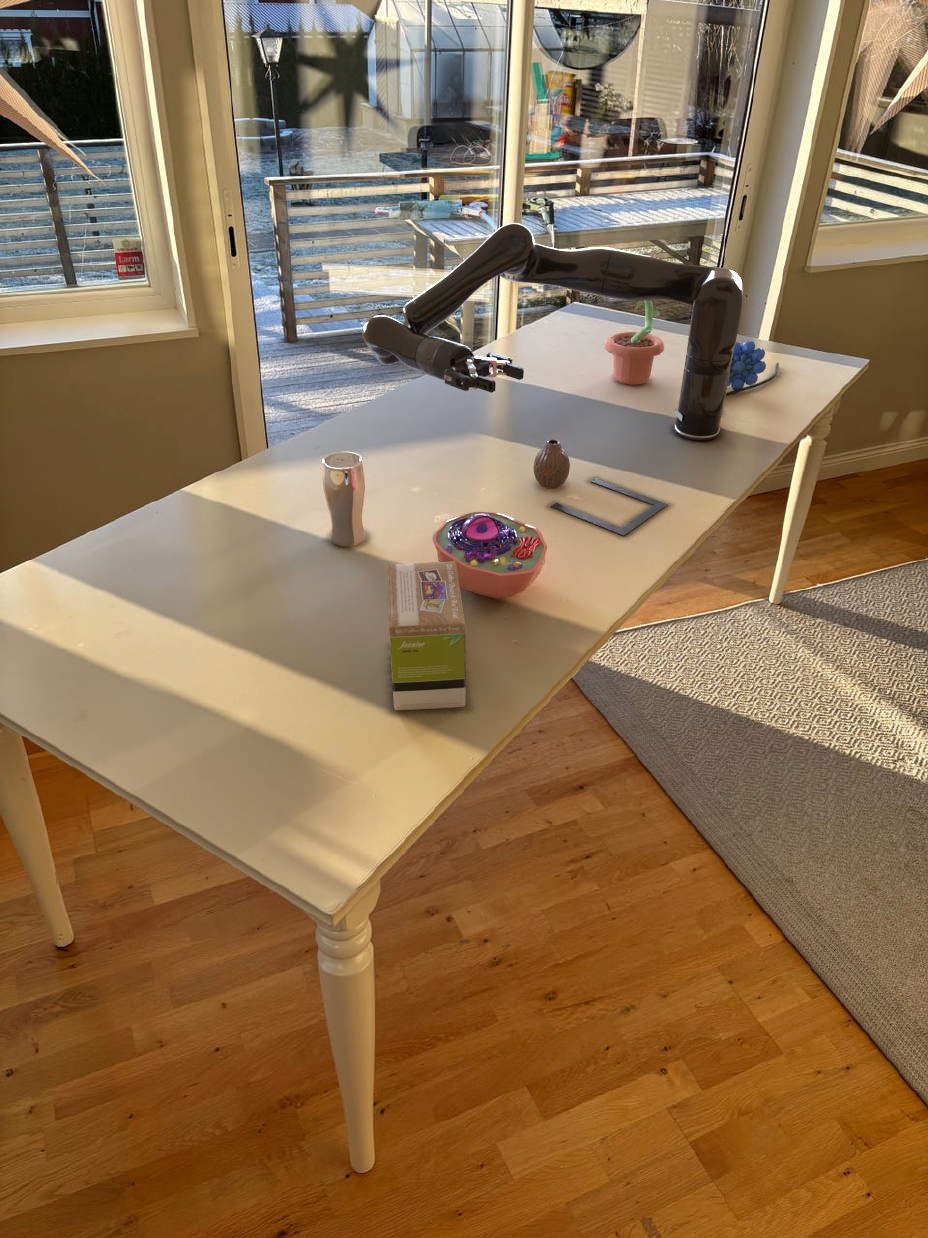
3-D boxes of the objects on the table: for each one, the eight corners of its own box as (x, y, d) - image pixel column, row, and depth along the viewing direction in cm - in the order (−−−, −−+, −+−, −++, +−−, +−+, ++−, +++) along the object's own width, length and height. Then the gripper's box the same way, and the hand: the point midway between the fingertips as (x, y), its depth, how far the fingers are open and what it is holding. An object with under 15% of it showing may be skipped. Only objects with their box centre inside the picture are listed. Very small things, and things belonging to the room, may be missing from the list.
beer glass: (374, 531, 164) (370, 454, 155) (358, 551, 158) (352, 472, 150) (338, 525, 166) (332, 448, 157) (321, 544, 160) (313, 465, 152)
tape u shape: (595, 478, 181) (596, 478, 181) (667, 505, 173) (667, 504, 173) (550, 507, 172) (550, 506, 172) (623, 536, 163) (624, 535, 163)
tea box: (390, 645, 137) (386, 560, 129) (458, 642, 138) (458, 558, 129) (392, 713, 125) (388, 624, 116) (466, 709, 126) (468, 621, 117)
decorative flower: (620, 363, 232) (634, 237, 214) (671, 375, 225) (689, 246, 208) (591, 381, 222) (603, 250, 204) (643, 394, 216) (660, 261, 198)
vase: (566, 493, 176) (569, 451, 171) (530, 490, 177) (532, 447, 172) (570, 477, 181) (573, 435, 176) (535, 473, 183) (537, 432, 177)
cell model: (472, 631, 140) (474, 568, 134) (416, 567, 154) (415, 507, 148) (567, 602, 147) (573, 541, 140) (505, 544, 161) (507, 485, 154)
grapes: (763, 388, 220) (774, 337, 212) (758, 398, 215) (768, 347, 208) (714, 379, 223) (723, 330, 216) (708, 389, 219) (716, 339, 211)
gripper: (419, 350, 176) (485, 371, 168) (467, 331, 185) (532, 351, 177) (420, 388, 181) (484, 410, 172) (467, 368, 190) (530, 388, 181)
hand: (508, 380), depth 175 cm, fingers open, 8 cm apart
